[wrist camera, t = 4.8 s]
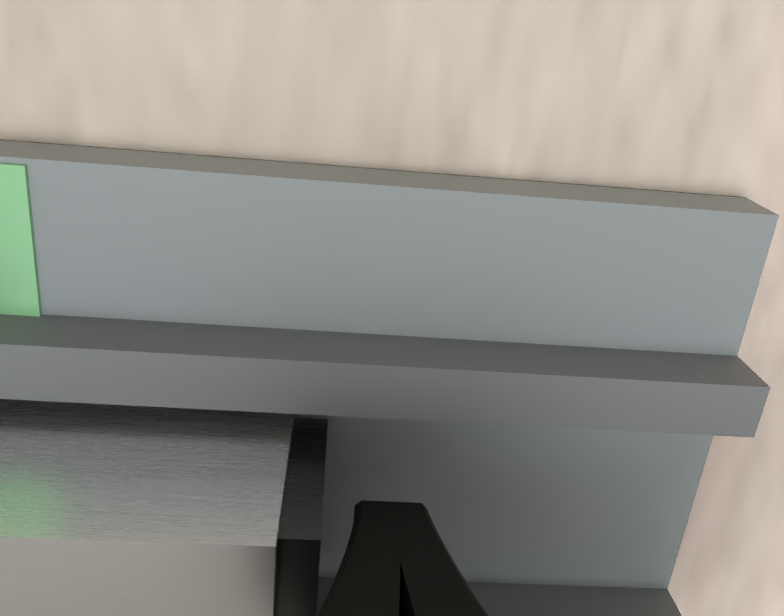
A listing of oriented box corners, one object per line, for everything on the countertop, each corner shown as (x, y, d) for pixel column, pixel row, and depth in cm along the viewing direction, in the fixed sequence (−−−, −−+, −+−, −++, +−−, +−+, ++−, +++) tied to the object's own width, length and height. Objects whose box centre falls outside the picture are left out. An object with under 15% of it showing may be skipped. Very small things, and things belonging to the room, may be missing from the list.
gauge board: (614, 668, 19) (705, 903, 14) (-149, 649, 17) (-342, 904, 12) (744, 197, 14) (951, 306, 9) (-285, 117, 12) (-679, 196, 8)
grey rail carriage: (317, 569, 15) (307, 753, 12) (34, 559, 15) (-71, 747, 11) (329, 398, 14) (320, 548, 10) (12, 381, 13) (-118, 532, 10)
